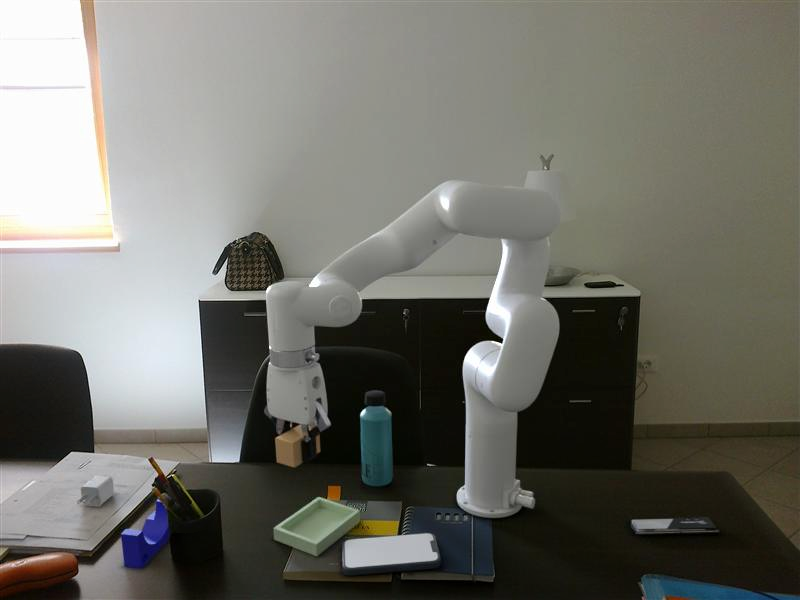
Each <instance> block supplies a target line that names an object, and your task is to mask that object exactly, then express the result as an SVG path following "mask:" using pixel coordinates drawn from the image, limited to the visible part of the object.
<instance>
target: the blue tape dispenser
mask: <svg viewBox="0 0 800 600" xmlns="http://www.w3.org/2000/svg"><path fill="white" fill-rule="evenodd" d="M170 538H171V537H170V535H169V526H168V518H167V510H166V508H165V506H164V505H163V503H162V502H161V501H160V500H159V498H157V499H156V500H155V510H154V511H153V512H152V513H150V515H149V516H148V517H147V518H145V521H144V523H143V526H142V528H141V530H139V529H131V528H126V529H124V530H123V531H122V532H121V533H120V539H121V549H122V556H123V557H122V558H123V565H124V568H133V569H139V570H140V569H143V567H144V566H146V565H147V563H148V562H149V561H150V560H151V559H152V558H153V557H154V556H155V554H156V553H157V552H158V551H159V550H160V549H161V548H162V547H163V546H164V545H165V544H166V543H167V542H168V541H169V540H170Z"/></svg>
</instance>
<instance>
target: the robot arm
mask: <svg viewBox="0 0 800 600" xmlns="http://www.w3.org/2000/svg"><path fill="white" fill-rule="evenodd" d="M560 219H561V208H560V205H559V203H558V202H557V200H556V199H555V197H554V196H553V195H552V194H551V193H550V192H547V191H545V190H542V189H537V188H530V187H525V186H518V185H517V186H516V185H507V186H502V185H493V184H487V183H480V182H475V181H468V180H462V179H450V180H446V181H444V182H442V183H440V184H439V185H437V186H436V187H435V188H434V189H432V190H431V191H429V192H428V193H427V194H426V195H425V196H423V197H422V198H421V199H420V200H418V201H417V202H416V203H415V204H414V205H412V206H411V207H410V208H409V209H408V210H406V211H405V212H404V213H402V214H401V215H400V216H399V217H397V218H396V219H395V220H393V221H392V222H391V223H389V224H388V225H387V226H385V227H384V228H382V229H381V230H379V231H378V232H376V233H374V234H372V235H371V236H369V237H367V238H366V239H365V240H362V241H361V242H359V243H357V244H356V245H354V246H352V247H351V248H350V249H348V250H346V251H345V252H343V253H342V254H341V255H339V256H338V257H337V258H335V260H333V261H332V262H331V263H329V264H328V265H326V267H324V268H323V269H322V270H320V272H319V273H318V274H316V275H315V277H313V279H312V280H311V282H310V284H308V283H306V282H303V281H298V280H287V281H286V280H285V281H279V282H275V283H272V284H271V285H269V286H268V287H267V289H266V292H265V303H266V316H267V317H266V318H267V333H268V346H269V347H268V348H269V362H268V367H267V374H266V403H267V404H266V405H265V407H264V410H263V412H264V414H265V415H266V416H267V417H268V419H270V420H271V422H272V424H273V426H274V427H275V428H276V429H275V430H276V433H277V434H278V435H279V436H280V435H282V434H284V433H286V432H287V431H289V430H291V429H293V423H294V424H295V423H296V424H298V425H300V424H301V428H302V433H303V438H304V440H303V441H301V447H302V461H303V463H305V464H307V463H309V462H310V461H312V460H313V459H315V458H316V457H317V455H318V453H317V447H316V437H317V436H318V435H319V434H321V433H322V432H323V431H325V430H326V429H328V428H330V427H331V426H332V423H331V421H330V419H329V417H328V413H329V411H328V410H329V409H328V407H329V406H328V398H327V390H326V383H325V378H324V373H323V369H322V367H321V364H320V363H319V362H318V361H320V354H319V353H316V339H315V338H316V337H315V327H328V328H342V327H347V326H348V325H351V324H352V323H354V322H356V321H357V319H358V318H359V317H360V315H361V313H362V309H363V300H362V297H361V295H360V292H362V291H364V289H366V288H367V287H369V286H370V285H371V284H373V283H374V282H376V281H378V280H380V279H382V278H384V277H386V276H389V275H393V274H398V273H404V272H408V271H410V270H414V269H416V268H418V267H419V266H420V265H422V264H423V263H424V262H425V261H426V260H428V259H429V258H430V257H432V256H433V255H434V254H435V253H436V252H437V251H438V250H440V249H441V248H442V247H444V246H445V245H446V244H447V243H449V242H450V241H451V240H452V239H454V238H455V237H456V236H457V235H458V234H462V235H465V236H472V237H478V238H486V239H496V240H500V241H501V245H502V256H501V261H500V265H499V269H498V273H497V276H496V278H495V279H496V280H495V282H494V286H493V288H492V292H491V295H490V297H489V300H488V304H487V307H486V311H485V322H486V324H487V326H488V328H489V330H491V331H492V332H493V334H495V335H497V336H498V337H500V338H501V339H503V340H502V343H501V342H497V341H495V340H483V341H480V342H478V343H475V345H473V346H472V347H470V349H469V350H468V351H467V353H466V355H465V356H464V360H463V362H462V363H463V364H462V380H463V388H464V396H465V397H464V398H465V450H464V452H465V453H464V454H465V458H464V485H463V486H461V487H460V488H459V489H458V490H457V493H456V503H457V505H458V506H459V507H460V508H461V509H462V510H463V511H465V512H466V513H468V514H470V515H473V516H475V517H480V518H486V519H501V518H506V517H510V516H512V515H515V514H516V513H518V512H519V511H520V510H521V509H522V508H523V507H524V508H528V509H531V510H532V509H534V508H535V504H536V499H535V498H534V492H533V491H530V490H524V489H523V488H522V487H521V480H520V479H516V470H517V469H516V468H517V466H516V465H517V441H518V440H517V438H518V437H517V435H518V413H519V412H522V411H524V410H526V409H527V408H529V407H530V406H531V405H532V404H533V403H534V402H535V401H536V400H537V398H538V396H539V394H540V392H541V390H542V387H543V385H544V382H545V379H546V376H547V374H548V370H549V367H550V364H551V361H552V358H553V355H554V352H555V350H556V346H557V343H558V339H559V337H560V336H559V335H560V318H559V314H558V312H557V310H556V309H555V307H554V306H553V304H551V302H549V301H548V300H547V299H545V298H544V297H542V295H543V292H544V289H545V284H546V280H547V277H548V273H549V269H550V264H551V246H550V242H549V238H548V237H549V236H551V235H552V234H553V233H554V232H555V230H556V229H557V228H558V225H559V223H560ZM309 426H310V427H311V430H310V431H309Z"/></svg>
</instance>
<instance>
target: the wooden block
mask: <svg viewBox="0 0 800 600" xmlns="http://www.w3.org/2000/svg"><path fill="white" fill-rule="evenodd" d="M310 430H311V427H310V425H309V431H310ZM320 434H321V433H320ZM320 434H319V435H318V436H317V437H316V447H317V454H319V453H321V437H320V436H321V435H320ZM303 440H304V438H303V433H302V428H301V424H298V425H296V426H295V427H292V428H291V430H289V431H287V432H286V433H284V434H282V435H280V434H279V435H278V436H276V437H275V438H274V443H275V455H276V457H275V458H276V463H277V464H282V465H285V466H287V467H291V468H297V467H298V466H300V465H301V464H303V463H304V462H303V461H302V447H301V441H303Z"/></svg>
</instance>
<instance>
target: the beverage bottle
mask: <svg viewBox="0 0 800 600" xmlns="http://www.w3.org/2000/svg"><path fill="white" fill-rule="evenodd" d="M386 403H387V400H386V393H385V392H384V391H382V390H377V389H375V390H369V391H367V392H365V394H364V405H366V406H367V407H365V408H364V409H362V411H361V412H360V413H359V419H360V437H359V438H360V452H361V455H360V457H361V468H360V469H361V470H360V474H361V478H362V482H363V483H364V484H365V485H367V486H372V487H382V486H386V485H388V484H390V483H391V482H392V481H393V478H394V460H393V458H394V455H393V437H392V434H393V433H392V412H391V410H389V409H388V408H387V407H385V406H384V405H386Z"/></svg>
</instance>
